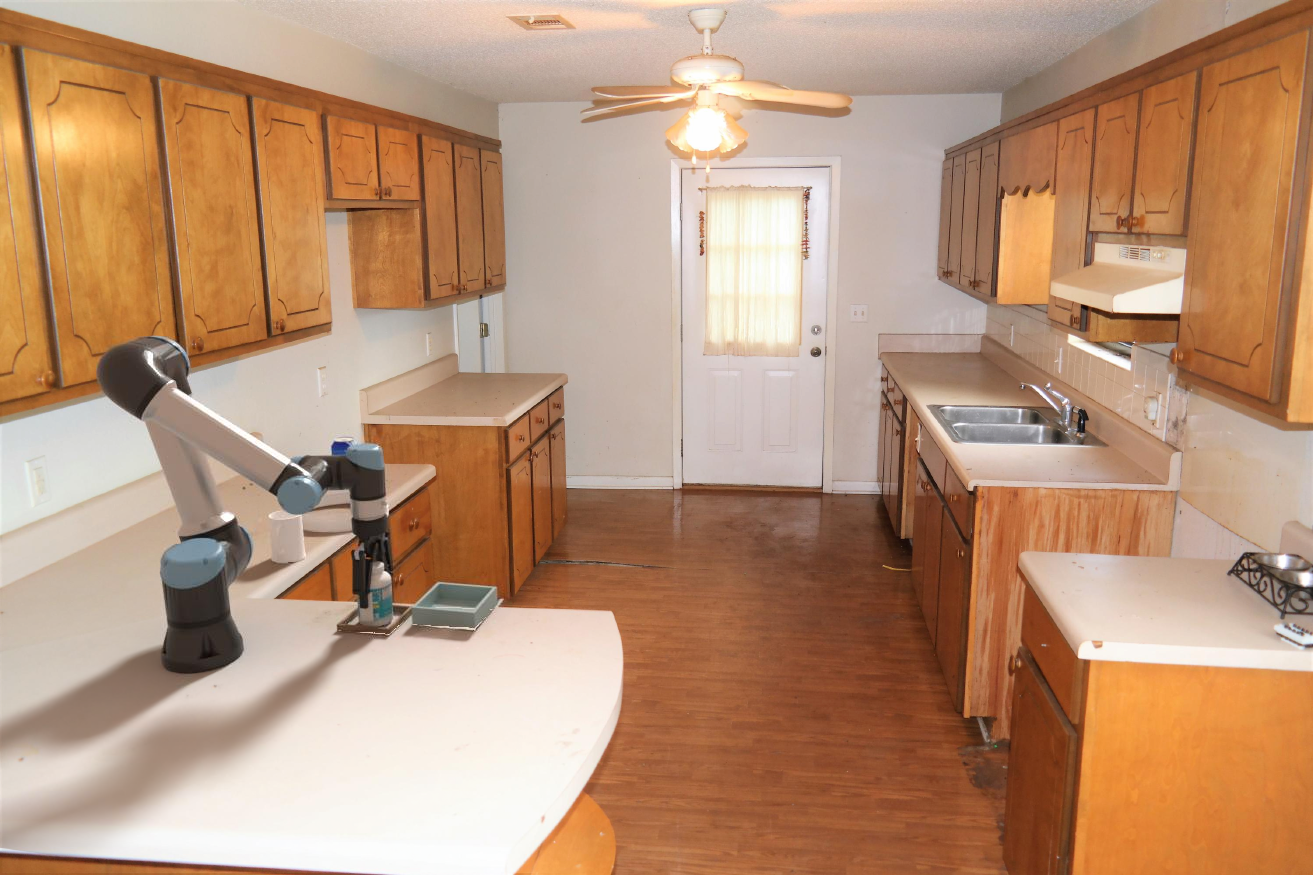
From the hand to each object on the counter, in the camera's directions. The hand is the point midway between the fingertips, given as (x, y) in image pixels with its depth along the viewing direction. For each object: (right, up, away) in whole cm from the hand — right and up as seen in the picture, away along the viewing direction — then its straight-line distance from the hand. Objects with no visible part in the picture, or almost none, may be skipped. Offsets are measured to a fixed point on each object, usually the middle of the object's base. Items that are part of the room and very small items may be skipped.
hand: (375, 612), depth 206 cm
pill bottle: (0, -2, +1) cm, 2 cm away
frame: (0, -2, +1) cm, 2 cm away
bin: (+17, -1, +5) cm, 18 cm away
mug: (-34, +7, +36) cm, 50 cm away
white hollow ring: (-31, +15, +70) cm, 78 cm away
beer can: (-40, +23, +101) cm, 111 cm away
